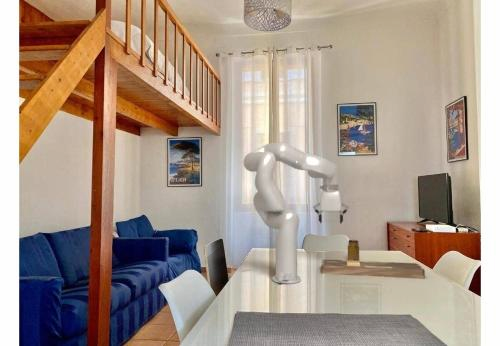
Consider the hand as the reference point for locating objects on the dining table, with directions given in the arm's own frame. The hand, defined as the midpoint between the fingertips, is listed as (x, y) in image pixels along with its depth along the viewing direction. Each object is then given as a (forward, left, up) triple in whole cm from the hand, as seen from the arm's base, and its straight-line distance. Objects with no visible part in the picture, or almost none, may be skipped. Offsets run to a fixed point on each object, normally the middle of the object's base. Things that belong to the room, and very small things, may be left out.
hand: (330, 223), depth 185 cm
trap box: (0, -18, -24) cm, 30 cm away
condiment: (+22, -12, -24) cm, 35 cm away
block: (0, -10, -24) cm, 26 cm away
